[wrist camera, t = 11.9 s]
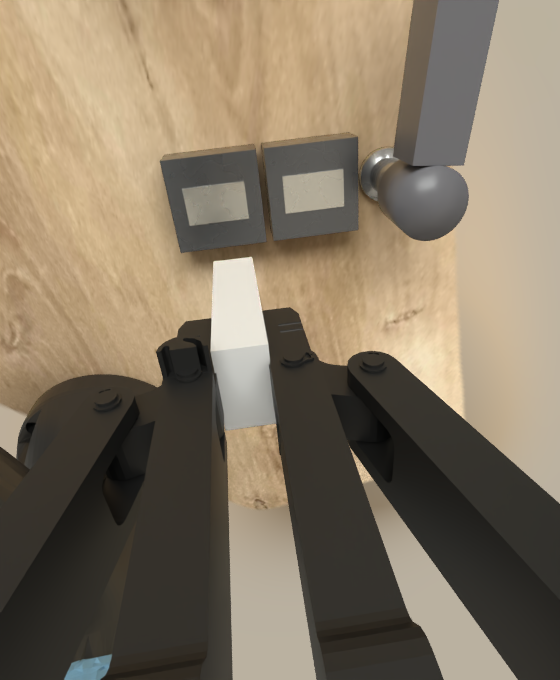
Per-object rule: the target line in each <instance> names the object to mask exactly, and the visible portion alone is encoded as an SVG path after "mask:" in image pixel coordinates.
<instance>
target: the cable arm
mask: <svg viewBox="0 0 560 680" xmlns="http://www.w3.org/2000/svg"><path fill="white" fill-rule="evenodd" d="M498 2H499V0H414V1H413V9H412V16H411V24H410V31H409V39H408V46H407V54H406V61H405V69H404V76H403V84H402V91H401V99H400V106H399V114H398V121H397V129H396V137H395V144H394V152H393V157H395V158H397V159H399V160H398V161H396V162H395V163H393V164H392V165H391V166H390V167H389V168H388V169H387V170H386V172H385V173H384V175H383V176H382V178H381V180H380V183H379V186H378V193H377V197H378V204H379V206H380V209H381V211H382V212H383V213H384V215H385V216H386V217H388V218H389V219H390V220H391V221H392V222H393V223H394V224H395V225H396V226H398V227H399V228H400V229H401V230H402V231H403V232H404V233H405V234H407V235H408V236H409V237H411V238H413V239H416V240H420V241H430V240H435V239H438V238H440V237H442V236H444V235H446V234H448V233H449V232H450V231H452V230H453V229H454V228H455V227H456V226H457V224H458V223H459V222H460V221H461V219H462V217H463V215H464V214H465V211H466V208H467V205H468V198H469V195H468V187H467V184H466V182H465V180H464V178H463V177H462V176H461V175H460V174H459V173H458V172H457V171H455V170H454V169H451V168H449V167H447V166H458V165H464V162H465V157H466V153H467V148H468V143H469V139H470V133H471V129H472V125H473V120H474V115H475V110H476V105H477V101H478V96H479V92H480V87H481V82H482V77H483V73H484V68H485V63H486V59H487V54H488V49H489V45H490V40H491V35H492V31H493V26H494V22H495V17H496V12H497V8H498Z"/></svg>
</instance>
